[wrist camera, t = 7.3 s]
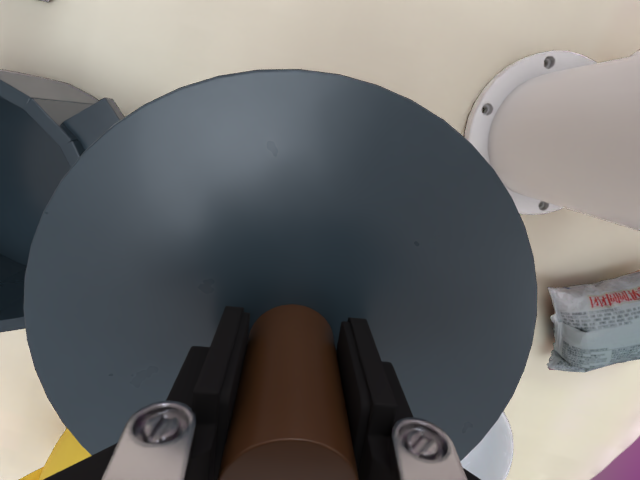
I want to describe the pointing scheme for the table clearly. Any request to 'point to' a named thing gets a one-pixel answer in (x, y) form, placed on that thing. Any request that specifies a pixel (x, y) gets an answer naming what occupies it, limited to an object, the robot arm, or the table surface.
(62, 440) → the teapot
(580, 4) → the table surface
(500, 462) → the cereal bowl
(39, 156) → the pot
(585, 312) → the packaged food
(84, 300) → the pot lid
